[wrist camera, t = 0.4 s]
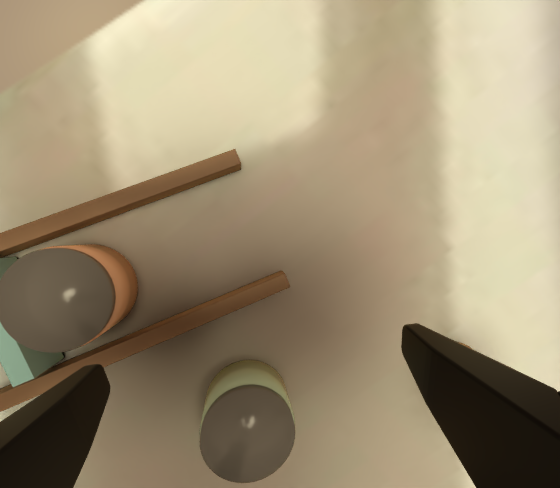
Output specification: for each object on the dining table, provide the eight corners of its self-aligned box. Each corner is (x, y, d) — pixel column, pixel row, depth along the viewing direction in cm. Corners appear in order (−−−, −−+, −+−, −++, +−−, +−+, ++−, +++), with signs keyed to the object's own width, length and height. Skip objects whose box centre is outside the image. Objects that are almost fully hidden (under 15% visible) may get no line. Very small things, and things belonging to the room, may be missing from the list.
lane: (286, 282, 21) (293, 290, 18) (-38, 421, 19) (-91, 456, 16) (235, 156, 21) (234, 143, 18) (-110, 281, 18) (-180, 290, 15)
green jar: (297, 416, 22) (310, 456, 18) (224, 452, 21) (221, 502, 17) (269, 346, 21) (275, 371, 17) (193, 380, 21) (181, 415, 17)
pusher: (64, 357, 19) (34, 378, 16) (46, 365, 19) (13, 387, 16) (15, 256, 19) (-24, 260, 16) (-4, 263, 18) (-47, 268, 16)
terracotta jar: (151, 309, 20) (130, 327, 16) (67, 344, 19) (22, 372, 16) (117, 231, 20) (85, 229, 16) (28, 264, 19) (-27, 271, 15)
